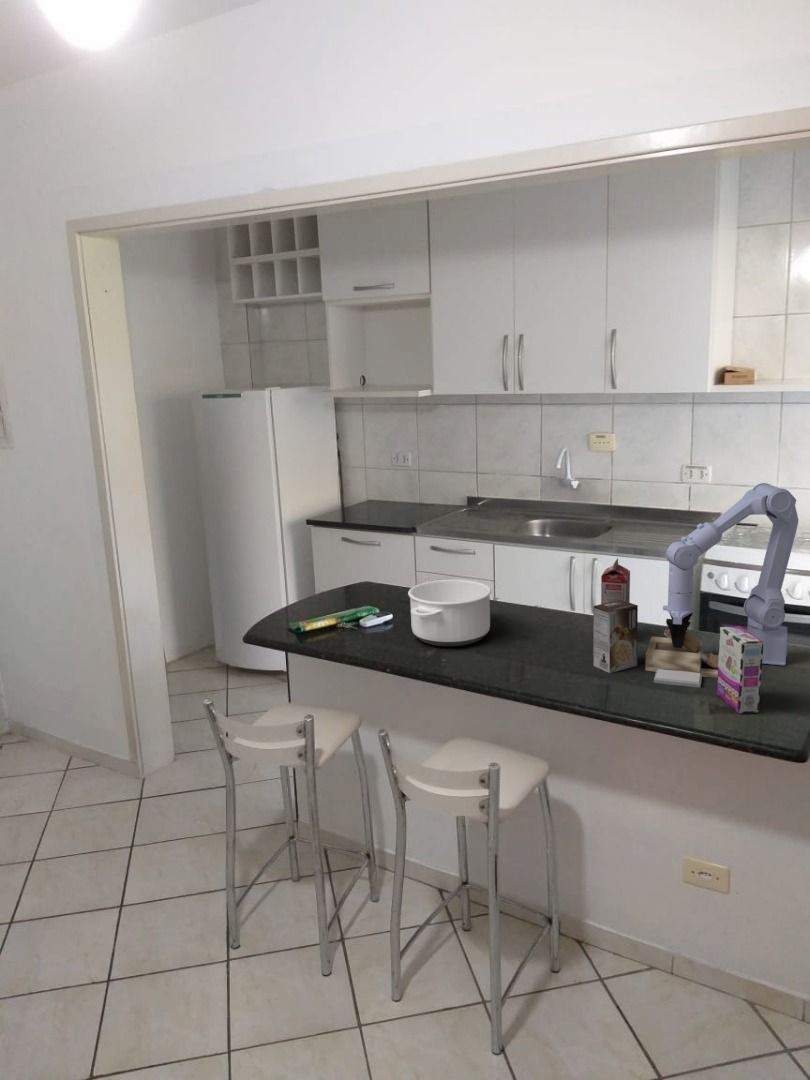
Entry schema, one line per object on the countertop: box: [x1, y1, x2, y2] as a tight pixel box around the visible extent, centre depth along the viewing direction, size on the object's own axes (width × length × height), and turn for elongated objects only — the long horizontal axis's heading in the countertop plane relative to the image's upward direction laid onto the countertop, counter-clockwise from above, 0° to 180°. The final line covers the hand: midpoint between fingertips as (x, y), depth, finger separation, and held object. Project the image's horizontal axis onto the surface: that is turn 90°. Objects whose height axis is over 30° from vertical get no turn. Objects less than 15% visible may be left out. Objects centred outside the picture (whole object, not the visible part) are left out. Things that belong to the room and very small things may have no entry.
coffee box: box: [592, 600, 639, 674], centre depth 211 cm, size 9×6×16 cm
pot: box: [407, 579, 492, 647], centre depth 238 cm, size 33×23×14 cm
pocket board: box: [644, 636, 719, 679], centre depth 211 cm, size 17×13×4 cm
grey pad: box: [653, 669, 703, 689], centre depth 202 cm, size 10×6×1 cm, turn 68°
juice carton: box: [600, 557, 631, 604], centre depth 229 cm, size 7×7×22 cm
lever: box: [663, 629, 719, 670], centre depth 210 cm, size 15×6×2 cm
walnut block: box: [666, 628, 701, 653], centre depth 210 cm, size 8×4×2 cm
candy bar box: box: [716, 625, 764, 715], centre depth 186 cm, size 11×5×16 cm, turn 5°
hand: (678, 643), depth 211 cm, fingers open, 6 cm apart
